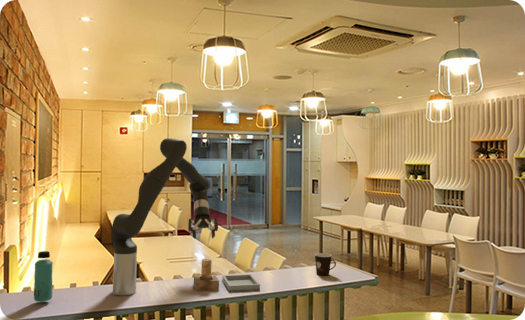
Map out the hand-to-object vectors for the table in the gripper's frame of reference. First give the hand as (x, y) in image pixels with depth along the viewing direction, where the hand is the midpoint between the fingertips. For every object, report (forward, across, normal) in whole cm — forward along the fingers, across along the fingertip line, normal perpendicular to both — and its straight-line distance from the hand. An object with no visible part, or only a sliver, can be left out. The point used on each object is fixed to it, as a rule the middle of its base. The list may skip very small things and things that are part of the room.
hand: (204, 237), depth 204 cm
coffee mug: (+15, +62, +14) cm, 65 cm away
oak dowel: (+22, 0, +7) cm, 23 cm away
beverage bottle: (+29, -65, 0) cm, 71 cm away
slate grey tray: (+22, +16, +7) cm, 28 cm away
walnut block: (+22, 0, +7) cm, 23 cm away
